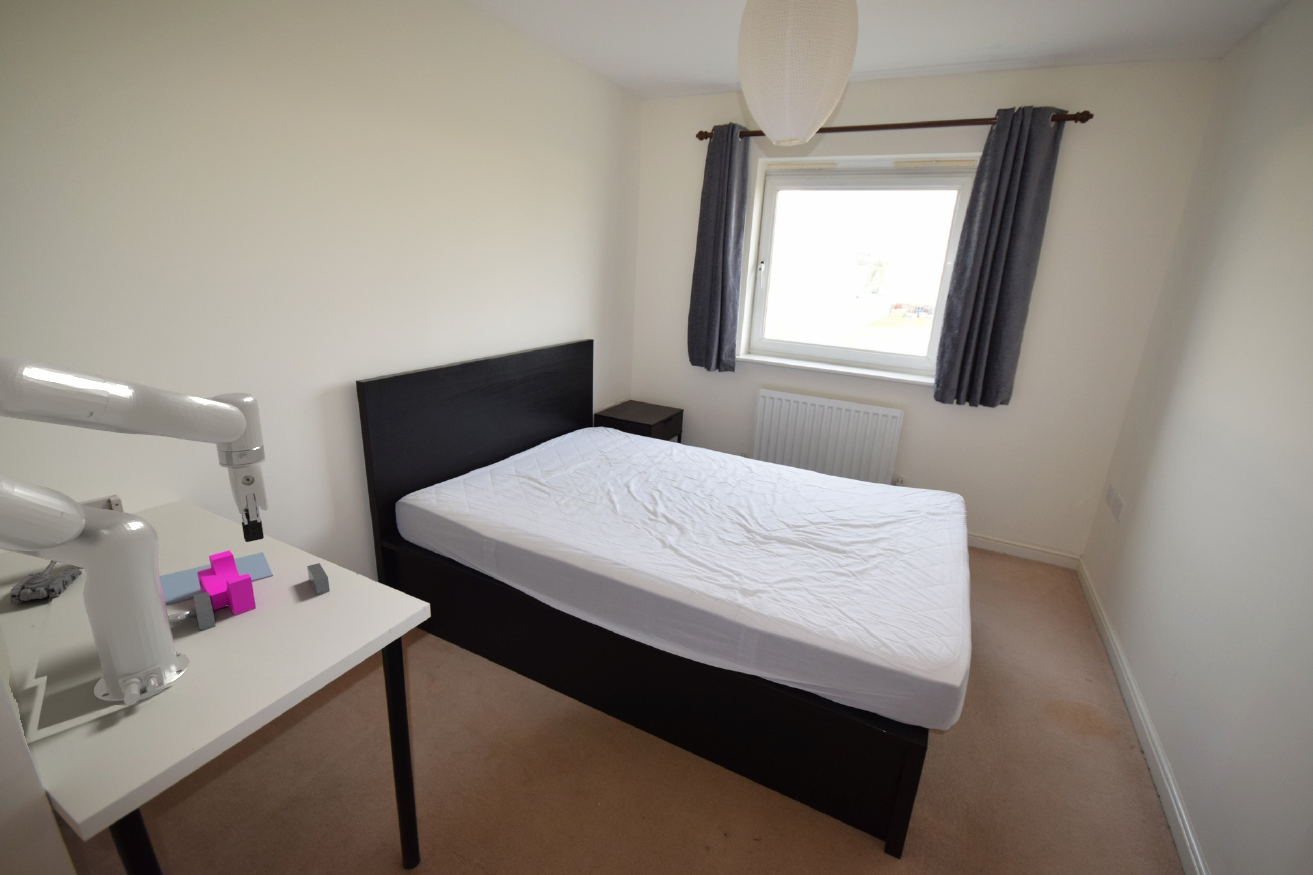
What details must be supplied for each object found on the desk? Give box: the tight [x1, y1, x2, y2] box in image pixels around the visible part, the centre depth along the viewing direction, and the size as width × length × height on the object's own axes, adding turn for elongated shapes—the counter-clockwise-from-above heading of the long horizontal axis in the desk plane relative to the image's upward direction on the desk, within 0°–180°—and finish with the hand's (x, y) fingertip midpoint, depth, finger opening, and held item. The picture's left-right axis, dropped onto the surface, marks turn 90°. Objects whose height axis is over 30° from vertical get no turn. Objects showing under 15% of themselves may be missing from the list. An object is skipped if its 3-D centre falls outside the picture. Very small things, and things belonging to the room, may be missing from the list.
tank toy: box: [9, 561, 83, 605], centre depth 123 cm, size 12×10×5 cm
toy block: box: [197, 549, 257, 616], centre depth 121 cm, size 15×6×8 cm, turn 49°
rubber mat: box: [159, 551, 274, 606], centre depth 130 cm, size 14×22×1 cm, turn 131°
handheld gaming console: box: [76, 494, 125, 512], centre depth 135 cm, size 9×4×15 cm, turn 143°
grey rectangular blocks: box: [168, 562, 331, 632], centre depth 120 cm, size 8×28×4 cm, turn 131°
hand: (254, 538), depth 118 cm, fingers closed
